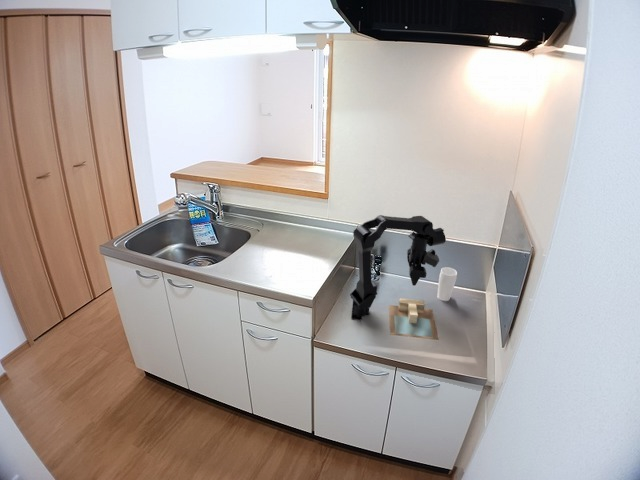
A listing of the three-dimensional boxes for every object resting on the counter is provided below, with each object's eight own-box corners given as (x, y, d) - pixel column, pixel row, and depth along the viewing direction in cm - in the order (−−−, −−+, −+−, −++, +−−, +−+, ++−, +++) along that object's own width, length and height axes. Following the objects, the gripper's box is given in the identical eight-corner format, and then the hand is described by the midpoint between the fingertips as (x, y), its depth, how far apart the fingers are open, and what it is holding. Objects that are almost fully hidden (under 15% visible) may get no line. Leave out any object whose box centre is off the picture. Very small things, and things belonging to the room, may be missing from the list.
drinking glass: (451, 305, 155) (458, 276, 148) (435, 303, 156) (441, 274, 149) (449, 296, 161) (456, 268, 154) (434, 294, 162) (440, 266, 155)
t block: (398, 306, 152) (399, 298, 150) (422, 308, 150) (424, 300, 149) (399, 321, 143) (400, 313, 141) (425, 324, 142) (426, 316, 140)
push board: (389, 337, 137) (390, 334, 136) (388, 307, 153) (388, 305, 152) (438, 342, 135) (438, 339, 134) (431, 312, 151) (432, 309, 150)
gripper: (443, 261, 134) (435, 295, 141) (436, 238, 150) (430, 269, 158) (412, 258, 136) (407, 291, 143) (409, 236, 152) (404, 267, 159)
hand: (413, 279), depth 151 cm, fingers open, 8 cm apart
